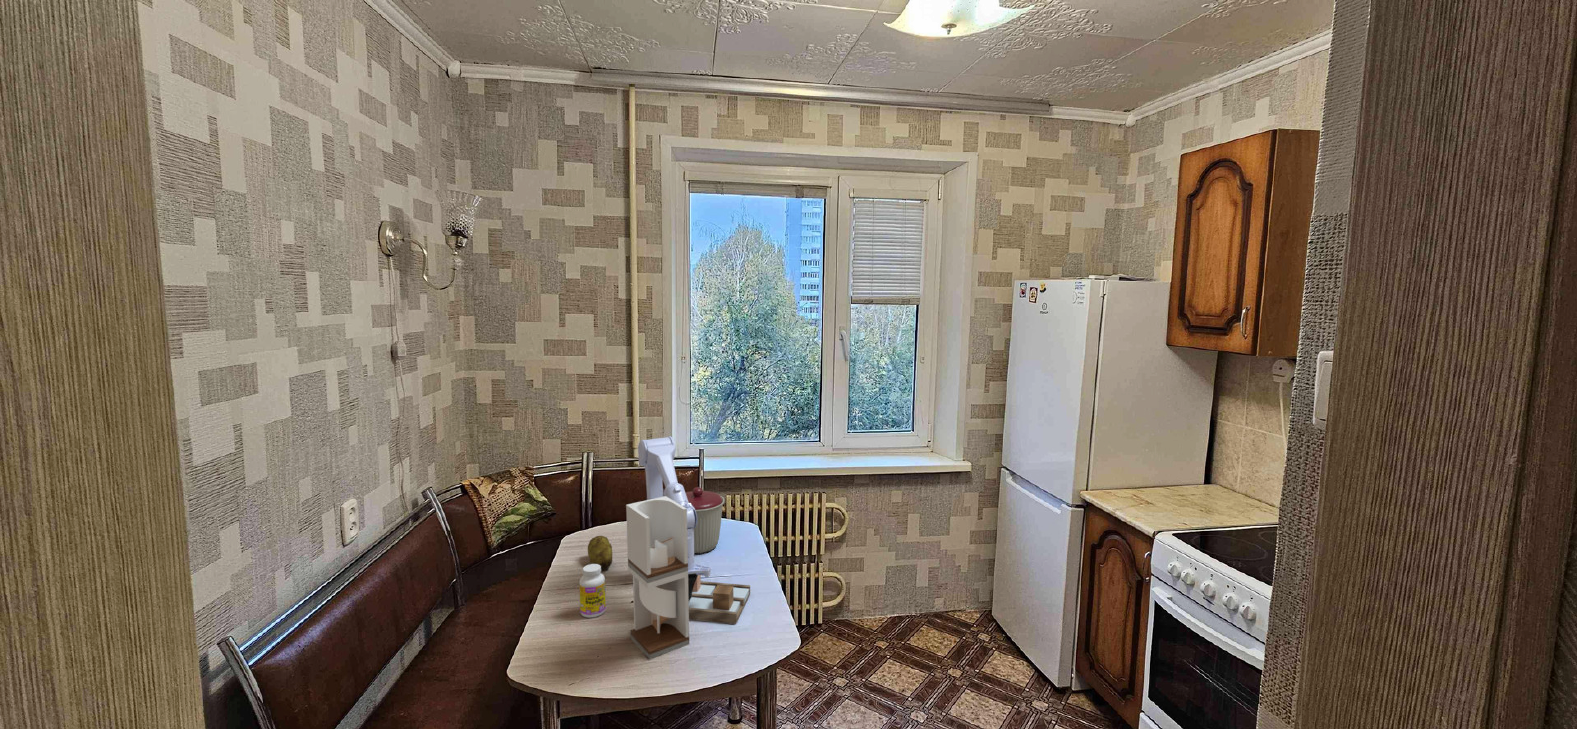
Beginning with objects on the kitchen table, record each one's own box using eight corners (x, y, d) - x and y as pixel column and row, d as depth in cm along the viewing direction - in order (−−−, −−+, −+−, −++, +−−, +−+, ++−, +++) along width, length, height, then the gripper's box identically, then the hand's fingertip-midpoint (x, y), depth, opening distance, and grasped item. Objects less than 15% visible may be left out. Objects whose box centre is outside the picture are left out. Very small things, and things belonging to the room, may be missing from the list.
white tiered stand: (630, 638, 156) (626, 504, 151) (668, 624, 162) (665, 496, 158) (649, 659, 147) (645, 518, 142) (689, 644, 153) (686, 508, 149)
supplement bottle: (582, 621, 163) (580, 575, 162) (578, 609, 169) (576, 565, 168) (608, 615, 167) (606, 570, 165) (603, 604, 172) (601, 560, 171)
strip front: (677, 610, 166) (677, 592, 166) (684, 600, 172) (684, 583, 171) (735, 616, 164) (734, 597, 163) (740, 605, 169) (740, 587, 168)
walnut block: (712, 608, 165) (712, 593, 164) (717, 600, 169) (717, 585, 169) (729, 610, 164) (729, 594, 164) (733, 602, 169) (733, 586, 168)
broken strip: (689, 598, 174) (689, 580, 173) (695, 589, 179) (695, 571, 178) (744, 603, 171) (744, 584, 170) (749, 593, 176) (748, 575, 176)
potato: (584, 574, 190) (583, 549, 189) (589, 556, 203) (588, 533, 202) (611, 572, 192) (611, 547, 191) (615, 554, 204) (615, 531, 203)
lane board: (657, 616, 166) (656, 606, 166) (677, 588, 182) (677, 579, 181) (736, 624, 162) (736, 614, 162) (750, 594, 178) (750, 585, 178)
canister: (735, 544, 213) (735, 485, 211) (701, 563, 198) (700, 500, 195) (695, 533, 223) (694, 476, 220) (660, 550, 208) (659, 490, 205)
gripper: (652, 555, 164) (653, 603, 166) (704, 559, 162) (705, 608, 163) (662, 544, 171) (663, 591, 173) (712, 548, 169) (713, 595, 170)
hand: (684, 598), depth 169 cm, fingers closed on strip front, 2 cm apart
